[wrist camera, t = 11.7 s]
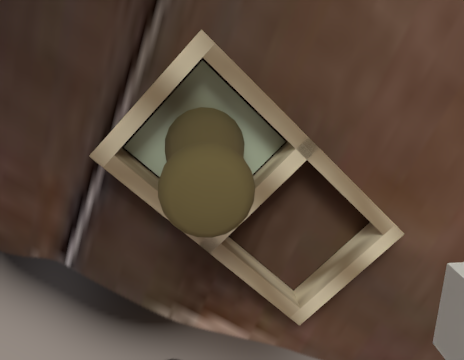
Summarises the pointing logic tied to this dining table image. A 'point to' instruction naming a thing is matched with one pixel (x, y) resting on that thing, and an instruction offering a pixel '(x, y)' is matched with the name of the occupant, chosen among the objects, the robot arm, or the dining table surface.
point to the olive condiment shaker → (205, 174)
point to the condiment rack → (255, 154)
